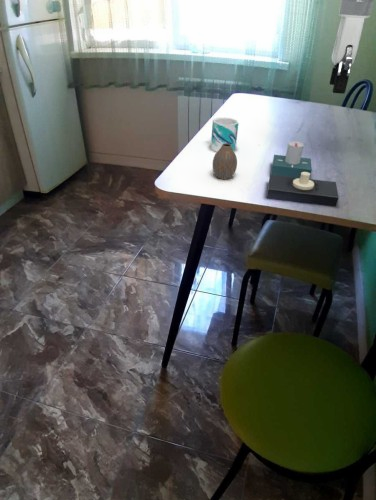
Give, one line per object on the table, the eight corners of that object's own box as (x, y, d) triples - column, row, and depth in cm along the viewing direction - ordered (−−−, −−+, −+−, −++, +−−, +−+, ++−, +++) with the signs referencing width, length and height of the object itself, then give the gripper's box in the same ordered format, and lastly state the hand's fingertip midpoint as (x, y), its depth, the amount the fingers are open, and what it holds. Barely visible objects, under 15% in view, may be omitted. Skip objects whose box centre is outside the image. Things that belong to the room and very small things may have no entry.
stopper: (311, 190, 113) (316, 170, 109) (311, 199, 109) (317, 179, 105) (290, 187, 114) (295, 168, 110) (290, 196, 110) (295, 176, 106)
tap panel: (308, 168, 125) (311, 157, 123) (309, 180, 119) (311, 169, 117) (272, 164, 126) (274, 153, 124) (271, 175, 120) (273, 165, 118)
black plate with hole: (333, 190, 114) (335, 181, 112) (335, 206, 107) (338, 197, 105) (268, 183, 116) (270, 174, 114) (266, 198, 109) (268, 189, 107)
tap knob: (284, 158, 122) (288, 139, 119) (299, 159, 122) (304, 141, 118) (284, 163, 119) (288, 144, 115) (300, 165, 119) (304, 146, 115)
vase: (214, 181, 115) (217, 149, 109) (209, 172, 120) (211, 140, 114) (238, 181, 116) (242, 149, 110) (232, 171, 121) (235, 140, 115)
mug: (208, 150, 133) (210, 123, 127) (214, 139, 141) (217, 112, 136) (233, 153, 132) (236, 125, 126) (238, 141, 140) (241, 115, 135)
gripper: (336, 5, 107) (320, 80, 119) (343, 11, 95) (325, 95, 106) (366, 6, 106) (347, 82, 118) (377, 13, 94) (354, 97, 106)
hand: (336, 88), depth 112 cm, fingers open, 9 cm apart
